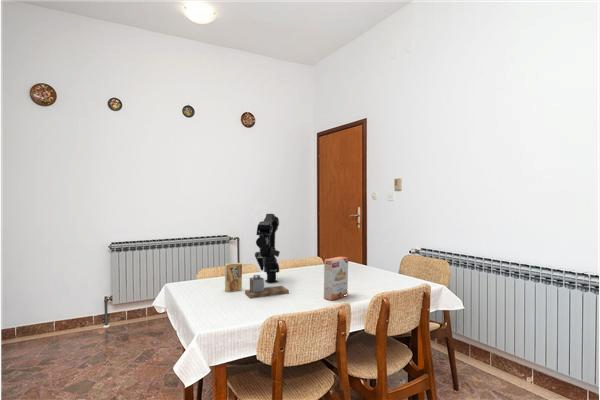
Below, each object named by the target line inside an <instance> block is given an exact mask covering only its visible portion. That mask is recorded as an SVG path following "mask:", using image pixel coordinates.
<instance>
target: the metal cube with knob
mask: <svg viewBox="0 0 600 400" xmlns="http://www.w3.org/2000/svg"><path fill="white" fill-rule="evenodd" d="M264 283H265V278H263V277H261V275H260V274H254V275H253V277H249V290H250V291H251V292H252V293H259V292H264V288H265V284H264Z"/></svg>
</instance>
